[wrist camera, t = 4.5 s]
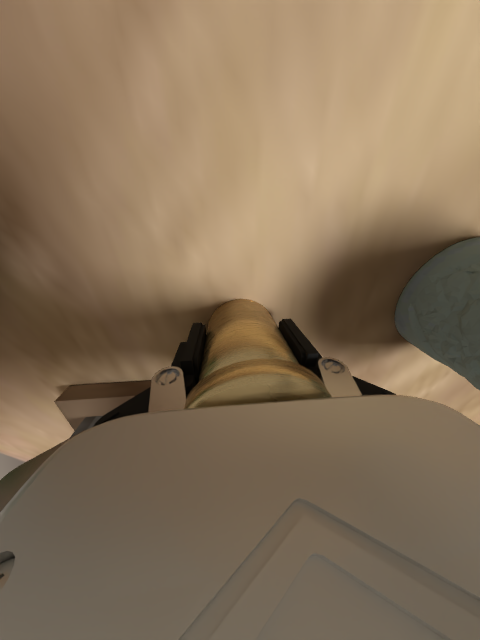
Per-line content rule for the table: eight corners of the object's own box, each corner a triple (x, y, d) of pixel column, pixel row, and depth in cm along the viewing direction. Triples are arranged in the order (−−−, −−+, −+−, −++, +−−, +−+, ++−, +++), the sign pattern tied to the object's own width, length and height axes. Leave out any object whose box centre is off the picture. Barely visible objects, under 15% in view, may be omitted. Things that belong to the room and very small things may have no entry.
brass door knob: (282, 292, 12) (366, 375, 5) (274, 358, 15) (324, 476, 7) (198, 294, 12) (157, 389, 5) (206, 362, 14) (187, 491, 7)
